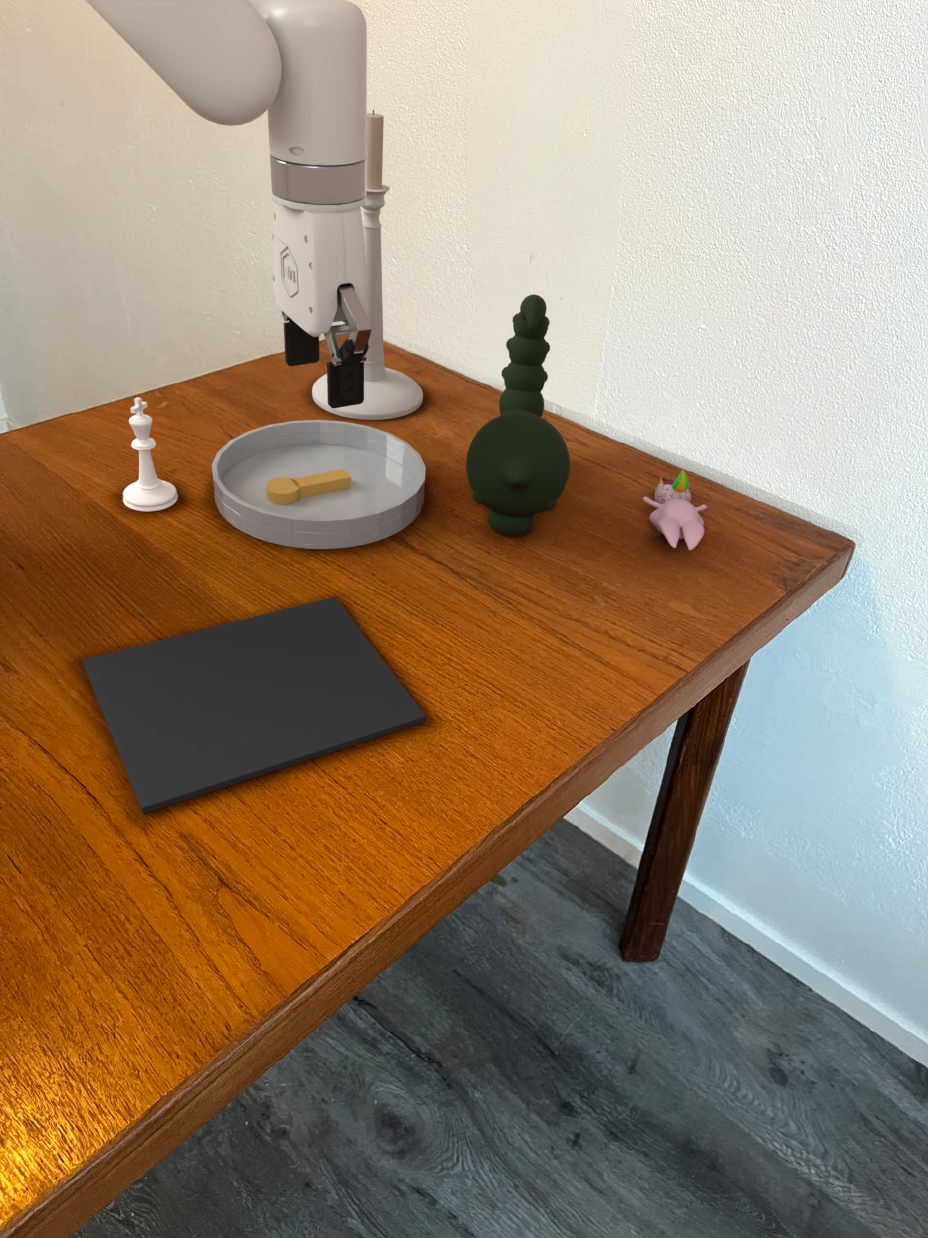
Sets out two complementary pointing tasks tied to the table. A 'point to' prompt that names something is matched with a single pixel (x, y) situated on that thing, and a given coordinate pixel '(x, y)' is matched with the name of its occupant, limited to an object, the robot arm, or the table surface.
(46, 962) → the table surface
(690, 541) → the pink stuffed animal
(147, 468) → the chess piece
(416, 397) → the candlestick
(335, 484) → the brass key
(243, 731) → the felt mat
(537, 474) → the toy figurine
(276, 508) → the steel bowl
